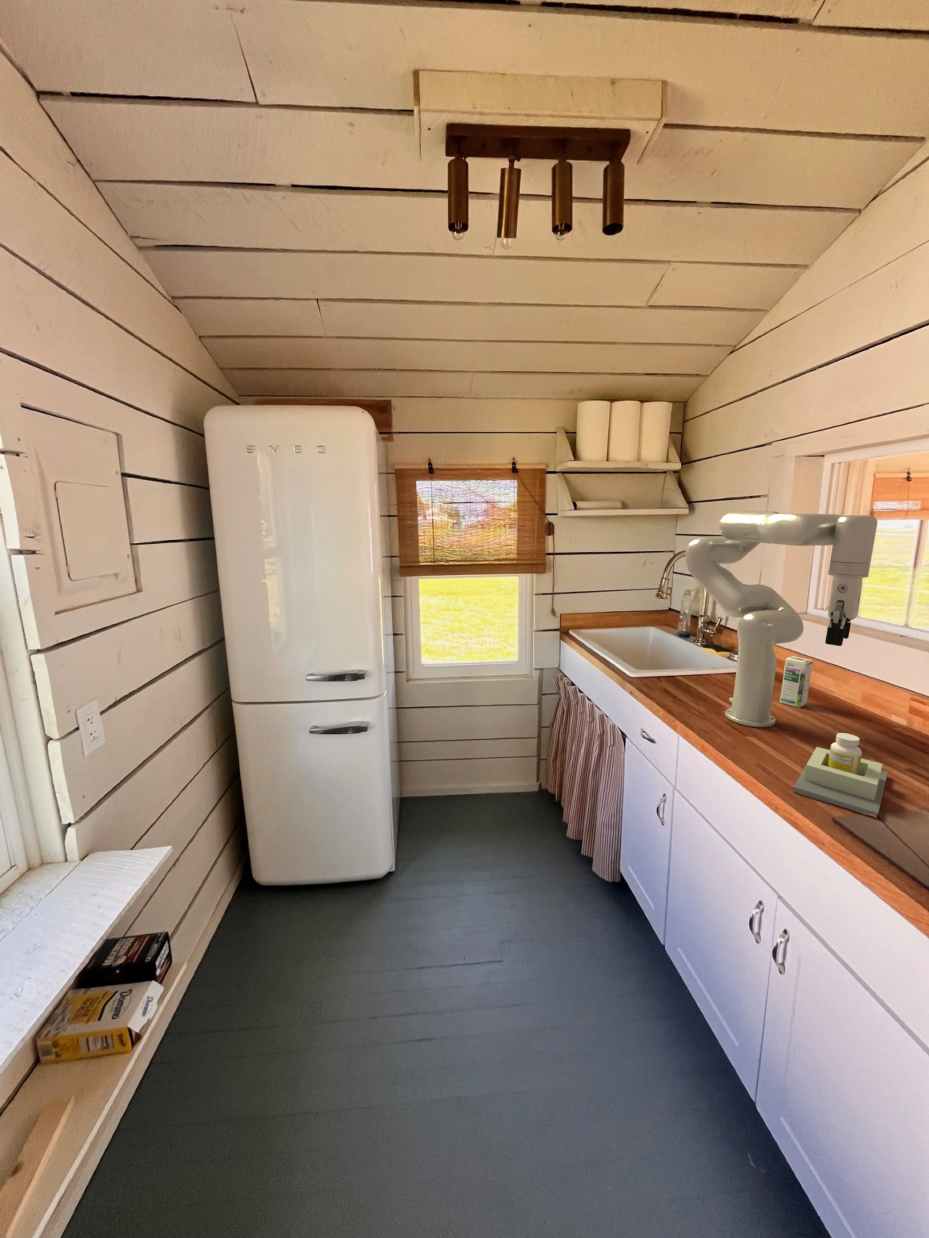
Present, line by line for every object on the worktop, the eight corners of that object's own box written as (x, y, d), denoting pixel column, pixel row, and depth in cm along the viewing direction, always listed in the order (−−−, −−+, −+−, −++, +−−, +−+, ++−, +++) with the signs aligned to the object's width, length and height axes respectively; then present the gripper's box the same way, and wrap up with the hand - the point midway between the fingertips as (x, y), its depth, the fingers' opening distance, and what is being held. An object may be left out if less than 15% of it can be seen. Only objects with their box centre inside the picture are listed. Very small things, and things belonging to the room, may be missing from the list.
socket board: (877, 818, 98) (881, 796, 97) (792, 791, 107) (795, 771, 106) (886, 776, 114) (890, 757, 113) (812, 756, 123) (815, 738, 122)
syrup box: (778, 702, 159) (785, 658, 156) (787, 698, 162) (793, 655, 159) (799, 708, 154) (806, 662, 151) (807, 704, 158) (813, 659, 155)
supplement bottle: (844, 772, 113) (851, 731, 111) (863, 784, 108) (871, 742, 106) (820, 772, 113) (826, 731, 111) (838, 785, 108) (845, 742, 106)
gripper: (864, 574, 108) (851, 651, 112) (873, 568, 121) (861, 637, 124) (822, 571, 113) (811, 645, 117) (835, 565, 126) (824, 632, 129)
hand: (836, 641), depth 121 cm, fingers open, 9 cm apart
